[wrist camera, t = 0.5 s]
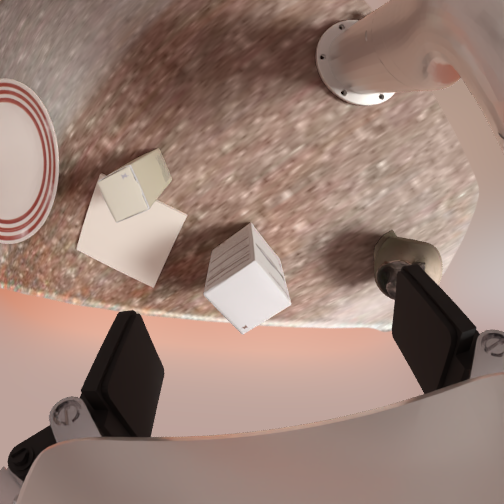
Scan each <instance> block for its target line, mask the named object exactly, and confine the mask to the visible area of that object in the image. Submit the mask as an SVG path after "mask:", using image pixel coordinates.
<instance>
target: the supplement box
mask: <svg viewBox="0 0 504 504" xmlns="http://www.w3.org/2000/svg"><path fill="white" fill-rule="evenodd" d="M203 294H204V296H205V297H206V298H207V299H208V300H209V301H210V302H211V303H212V304H213V305H214V306H215V307H216V308H217V309H218V310H219V311H220V312H221V314H222V315H223V316H224V317H225V318H226V319H227V320H228V321H229V322H230V323H231V324H232V325H233V326H234V327H235V328H236V329H238V331H239V332H240V333H241V334H244V333H246V332H247V331H249V330H251V329H253V328H254V327H256V326H258V325H259V324H261V323H263V322H264V321H266V320H267V319H269V318H271V317H272V316H274V315H276V314H277V313H279V312H280V311H282V310H284V309H285V308H287V307H288V306H290V305H291V301H290V297H289V293H288V289H287V285H286V281H285V277H284V273H283V269H282V265H281V262H280V258H279V257H278V256H277V255H276V254H275V252H274V251H273V250H272V249H271V248H270V246H269V245H268V244H267V243H266V241H265V240H264V239H263V238H262V236H261V235H260V234H259V232H258V231H257V230H256V228H255V227H254V226H253V224H252V223H249V224H248V225H247V226H245V227H244V228H242V229H241V230H239V231H238V232H237V233H235V234H234V235H233V236H231V237H230V238H228V239H227V240H226V241H224V242H223V243H221V244H220V245H219V246H217V247H216V248H215V249H213V250H212V254H211V258H210V263H209V268H208V273H207V278H206V284H205V289H204V293H203Z"/></svg>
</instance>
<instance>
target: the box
mask: <svg viewBox="0 0 504 504" xmlns="http://www.w3.org/2000/svg"><path fill="white" fill-rule="evenodd" d="M171 181H172V178H171V175H170V173H169V170H168V168H167V165H166V163H165V160H164V158H163V156H162V154H161V151H160V149H159V148H157V149H155V150H153V151H150V152H148V153H146V154H144V155H142V156H140V157H138V158H136V159H134V160H132V161H131V162H129V163H127V164H125V165H124V166H122V167H120V168H119V169H117V170H115V171H113V172H112V173H110V174H108V175H107V176H105V177H104V178H102V179H101V180H99V181H98V182H97V184H98V186H99V189H100V191H101V193H102V196H103V198H104V200H105V202H106V204H107V206H108V208H109V210H110V212H111V214H112V216H113V218H114V220H115V222H116V223H118V222H121V221H123V220H126V219H129V218H131V217H133V216H136V215H138V214H141V213H143V212H145V211H147V210H149V209H150V208H151V206H152V205H153V204H154V202H155V201H156V200H157V198H158V197H159V196H160V195H161V193H162V192H163V191H164V190H165V188H166V187H167V186H168V185H169V184H170V182H171Z"/></svg>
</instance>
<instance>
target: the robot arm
mask: <svg viewBox="0 0 504 504" xmlns="http://www.w3.org/2000/svg"><path fill="white" fill-rule="evenodd" d="M339 27H341V29H339ZM320 56H321V57H323V60H322V59H320ZM315 58H316V66H317V69H318V73H319V75H320V77H321V79H322V81H323V82H324V83H325V85H326V86H327V88H328V89H329V90H330V91H331V92H332V93H333V94H335V95H336V96H337V97H339V98H340V99H342V100H344V101H346V102H348V103H351V104H355V105H361V106H372V105H377V104H380V103H383V102H385V101H387V100H388V99H389V98H391V97H392V96H393V95H394V94H395V92H411V91H432V90H440V89H444V88H447V87H450V86H452V85H453V84H455V83H456V82H457V81H458V80H459V79H460V78H462V79H463V81H464V83H465V84H466V86H467V88H468V89H469V91H470V93H471V94H472V95H473V96H474V98H475V100H476V101H477V103H478V105H479V106H480V109H481V110H482V112H483V114H484V116H485V118H486V119H487V122H488V123H489V125H490V127H491V129H492V131H493V133H494V135H495V137H496V139H497V141H498V143H499V145H500V147H501V149H502V151H503V153H504V0H390V1H388V2H387V3H385V4H384V5H382V6H381V7H379V8H378V9H376V10H375V11H373V12H372V13H370V14H369V15H367V16H366V17H364V18H363V19H361V20H346V21H341V22H339V23H336V24H334V25H333V26H331V27H330V28H329V29H327V30H326V31H325V32H324V33H323V35H322V36H321V38H320V39H319V41H318V44H317V47H316V54H315ZM341 91H342V92H343V95H342V94H341ZM379 96H380V99H379ZM392 335H393V338H394V340H395V341H396V343H397V345H398V347H399V349H400V350H401V352H402V354H403V356H404V357H405V359H406V361H407V363H408V365H409V366H410V368H411V370H412V372H413V374H414V375H415V377H416V379H417V381H418V383H419V384H420V386H421V388H422V390H423V392H424V394H423V395H420V396H417V397H414V398H411V399H407V400H404V401H401V402H397V403H394V404H390V405H387V406H383V407H380V408H376V409H372V410H368V411H364V412H360V413H356V414H352V415H348V416H344V417H339V418H334V419H329V420H325V421H320V422H314V423H309V424H303V425H298V426H291V427H284V428H278V429H270V430H263V431H255V432H245V433H235V434H224V435H209V436H190V437H151V432H152V428H153V423H154V418H155V414H156V409H157V404H158V400H159V395H160V391H161V387H162V382H163V378H164V368H163V365H162V363H161V361H160V358H159V357H158V354H157V352H156V350H155V347H154V345H153V343H152V341H151V338H150V336H149V333H148V331H147V329H146V327H145V324H144V322H143V319H142V317H141V315H140V314H136V312H135V311H133V310H132V311H123V312H119V313H118V314H117V316H116V318H115V321H114V322H113V324H112V326H111V328H110V330H109V332H108V334H107V336H106V338H105V340H104V342H103V344H102V346H101V348H100V350H99V353H98V354H97V357H96V359H95V361H94V363H93V365H92V367H91V369H90V372H89V374H88V376H87V378H86V380H85V382H84V385H83V387H82V389H81V392H82V394H81V396H80V398H78V397H67V398H64V399H62V400H60V401H59V402H57V403H56V404H55V405H54V406H53V408H52V410H51V411H50V415H49V421H50V426H48V427H46V428H45V429H43V430H41V431H40V432H38V433H36V434H35V435H33V436H32V437H30V438H28V439H27V440H25V441H23V442H22V443H20V444H18V445H17V446H16V447H14V448H13V450H12V451H11V452H10V455H9V458H8V468H7V469H6V468H5V467H3V468H2V469H1V470H0V504H504V332H502V331H499V330H486V331H485V332H482V333H481V334H479V333H478V331H477V330H476V326H475V325H474V324H473V323H472V322H471V321H470V320H469V318H467V316H466V315H465V314H464V313H463V312H462V311H461V310H460V308H459V307H458V306H457V305H456V304H455V303H454V302H453V301H452V300H451V298H450V297H449V296H448V295H447V294H446V293H445V292H444V291H443V290H442V289H441V288H440V287H439V286H438V285H437V284H436V283H435V281H434V280H433V279H432V278H431V277H430V276H429V275H428V274H427V273H426V272H425V271H424V270H423V269H422V268H421V267H420V266H419V265H418V264H412V265H407V266H403V267H402V268H401V271H398V273H397V280H396V293H395V305H394V315H393V324H392Z"/></svg>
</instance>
